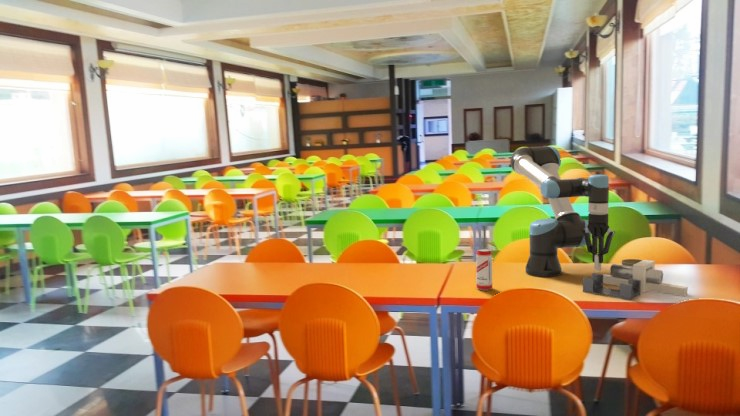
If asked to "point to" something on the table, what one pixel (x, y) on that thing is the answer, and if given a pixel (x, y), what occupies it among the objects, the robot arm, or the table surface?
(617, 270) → the axle
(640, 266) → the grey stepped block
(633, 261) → the flower pot
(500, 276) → the table surface
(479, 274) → the beer can
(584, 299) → the table surface
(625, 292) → the v block
